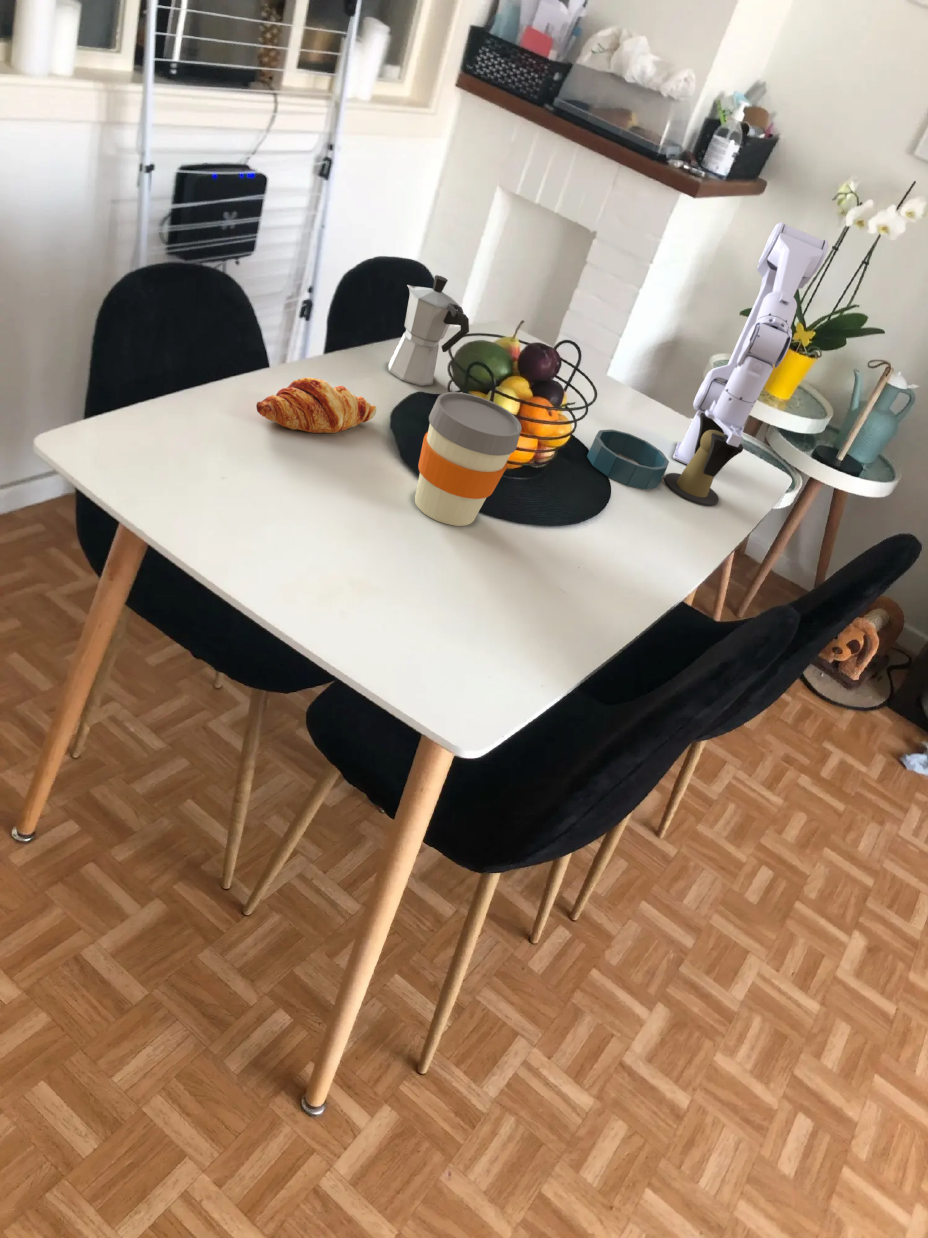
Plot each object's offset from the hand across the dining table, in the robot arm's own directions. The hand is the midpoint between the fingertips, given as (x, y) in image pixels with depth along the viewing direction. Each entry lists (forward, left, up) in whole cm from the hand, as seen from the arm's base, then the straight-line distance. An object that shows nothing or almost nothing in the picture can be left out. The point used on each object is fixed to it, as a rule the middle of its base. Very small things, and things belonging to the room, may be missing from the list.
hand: (704, 464), depth 177 cm
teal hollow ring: (+4, -12, -5) cm, 14 cm away
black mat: (0, 0, -5) cm, 5 cm away
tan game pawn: (0, 0, -5) cm, 5 cm away
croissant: (+39, -57, -5) cm, 69 cm away
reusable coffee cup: (+47, -33, -5) cm, 58 cm away
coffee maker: (+5, -53, -5) cm, 54 cm away
